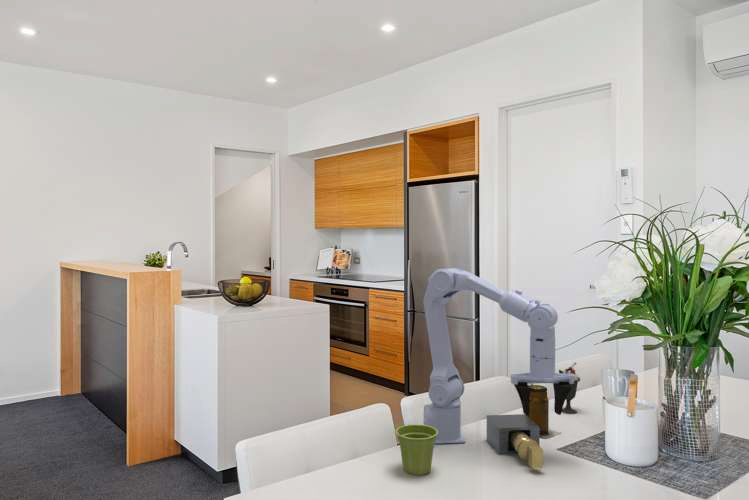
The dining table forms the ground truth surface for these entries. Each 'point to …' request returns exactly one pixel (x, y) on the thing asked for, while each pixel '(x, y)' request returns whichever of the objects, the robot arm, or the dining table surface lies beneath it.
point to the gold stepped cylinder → (526, 448)
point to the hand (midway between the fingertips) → (542, 413)
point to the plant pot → (416, 447)
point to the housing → (503, 425)
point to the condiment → (540, 410)
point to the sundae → (573, 390)
